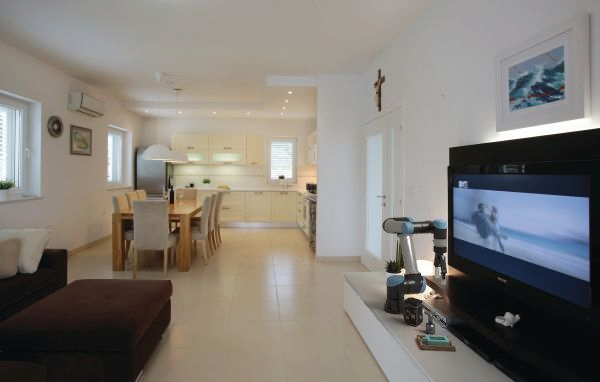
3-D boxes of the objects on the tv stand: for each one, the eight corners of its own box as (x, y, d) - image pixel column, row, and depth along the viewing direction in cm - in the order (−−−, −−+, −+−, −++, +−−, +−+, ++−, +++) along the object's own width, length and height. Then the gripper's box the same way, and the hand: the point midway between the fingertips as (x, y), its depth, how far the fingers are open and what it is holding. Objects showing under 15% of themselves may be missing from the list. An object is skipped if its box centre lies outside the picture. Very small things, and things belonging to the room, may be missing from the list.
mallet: (424, 330, 209) (424, 310, 209) (434, 331, 208) (434, 310, 208) (426, 334, 204) (426, 313, 204) (436, 334, 203) (436, 314, 203)
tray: (416, 338, 199) (416, 334, 199) (448, 339, 197) (448, 336, 197) (421, 349, 186) (421, 345, 186) (455, 351, 184) (455, 347, 184)
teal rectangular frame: (445, 341, 194) (445, 335, 194) (449, 347, 187) (449, 341, 187) (421, 340, 196) (421, 334, 196) (424, 346, 189) (424, 340, 189)
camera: (408, 318, 227) (408, 295, 227) (423, 323, 220) (423, 299, 219) (400, 323, 220) (399, 299, 220) (415, 328, 213) (415, 303, 212)
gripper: (428, 241, 222) (428, 275, 223) (439, 250, 198) (439, 287, 198) (440, 241, 221) (440, 275, 222) (453, 250, 197) (453, 287, 197)
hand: (440, 281), depth 210 cm, fingers open, 13 cm apart
